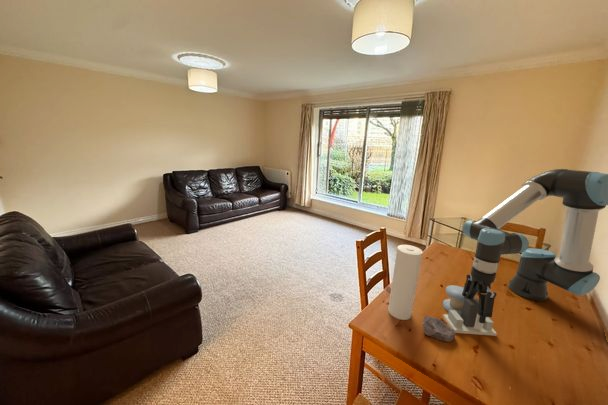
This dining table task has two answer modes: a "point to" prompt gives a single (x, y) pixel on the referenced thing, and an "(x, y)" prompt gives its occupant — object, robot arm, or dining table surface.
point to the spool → (454, 299)
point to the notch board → (457, 325)
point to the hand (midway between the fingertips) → (471, 321)
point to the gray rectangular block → (470, 312)
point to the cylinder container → (404, 281)
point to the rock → (437, 329)
